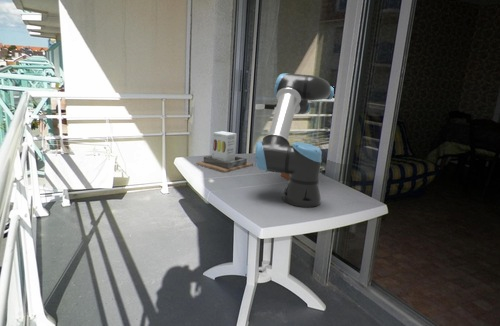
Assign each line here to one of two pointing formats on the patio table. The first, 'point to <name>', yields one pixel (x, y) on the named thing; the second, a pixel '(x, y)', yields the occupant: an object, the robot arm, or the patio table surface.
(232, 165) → the tub holder
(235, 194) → the patio table surface
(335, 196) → the patio table surface
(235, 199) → the patio table surface
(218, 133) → the supplement box
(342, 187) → the patio table surface
